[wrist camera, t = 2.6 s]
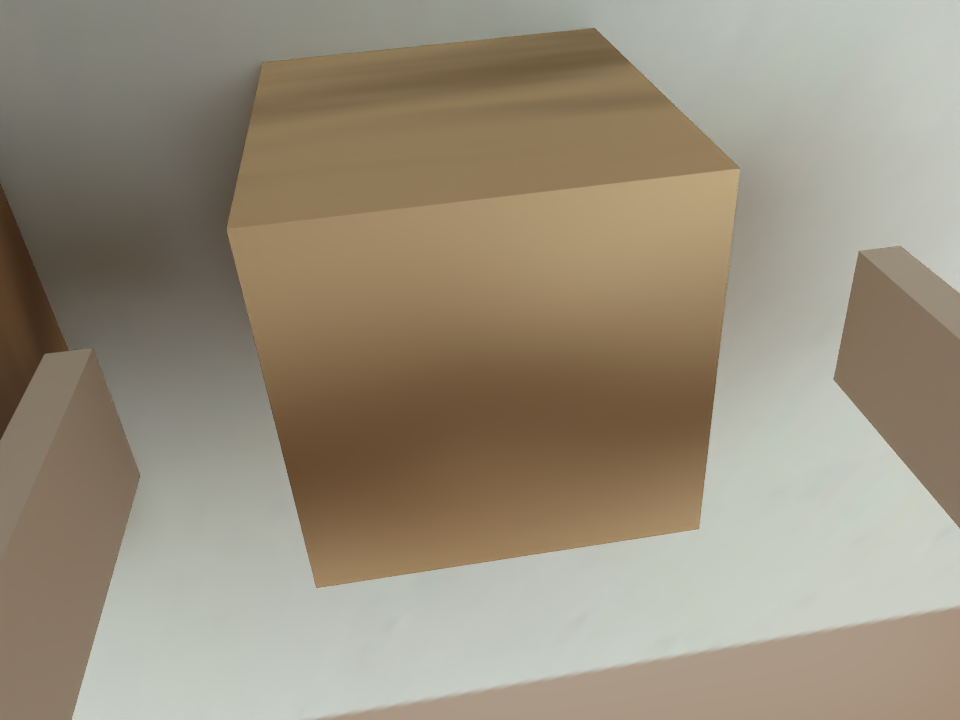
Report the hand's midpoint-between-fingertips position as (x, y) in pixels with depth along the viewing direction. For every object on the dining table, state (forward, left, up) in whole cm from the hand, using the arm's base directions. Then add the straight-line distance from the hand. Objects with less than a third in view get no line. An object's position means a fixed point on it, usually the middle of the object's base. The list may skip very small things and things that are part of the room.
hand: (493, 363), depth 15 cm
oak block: (0, 0, -6) cm, 6 cm away
